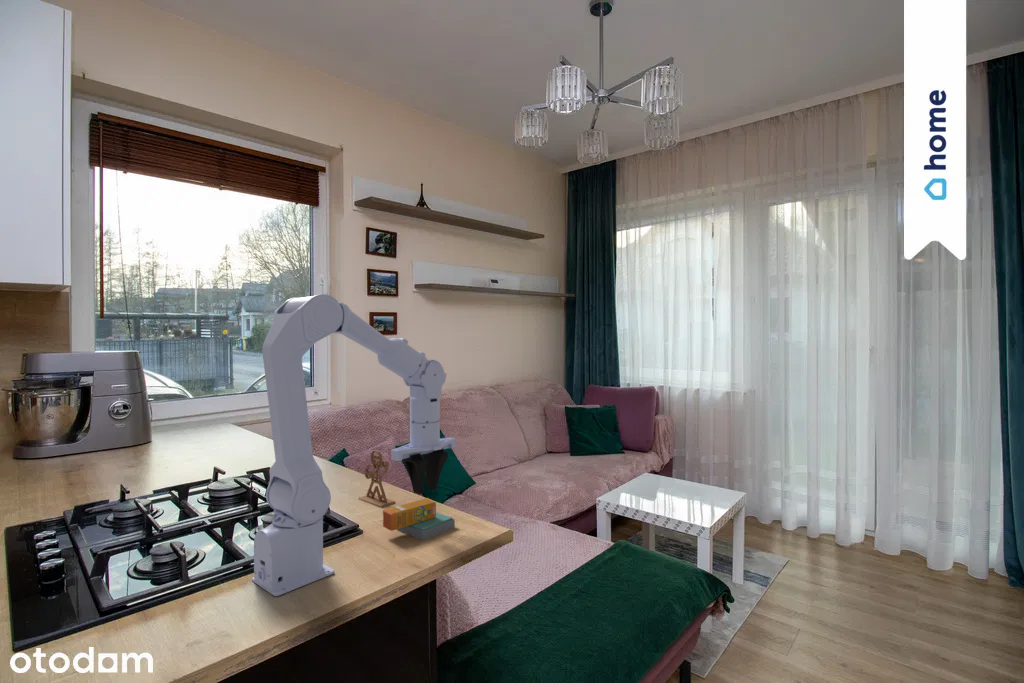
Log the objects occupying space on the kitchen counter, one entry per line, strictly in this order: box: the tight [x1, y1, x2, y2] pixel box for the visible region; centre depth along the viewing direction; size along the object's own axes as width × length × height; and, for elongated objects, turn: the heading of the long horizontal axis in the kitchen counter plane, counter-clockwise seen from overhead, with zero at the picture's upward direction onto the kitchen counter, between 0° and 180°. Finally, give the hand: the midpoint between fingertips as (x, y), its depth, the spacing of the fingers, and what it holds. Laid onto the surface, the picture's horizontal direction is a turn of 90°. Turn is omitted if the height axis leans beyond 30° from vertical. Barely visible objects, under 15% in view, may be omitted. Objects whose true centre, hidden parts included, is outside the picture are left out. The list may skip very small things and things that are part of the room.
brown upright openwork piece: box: [358, 449, 396, 509], centre depth 112 cm, size 9×4×12 cm, turn 51°
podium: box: [396, 511, 456, 541], centre depth 97 cm, size 8×8×2 cm
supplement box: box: [382, 497, 437, 532], centre depth 95 cm, size 3×3×10 cm
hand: (425, 490), depth 97 cm, fingers open, 3 cm apart
